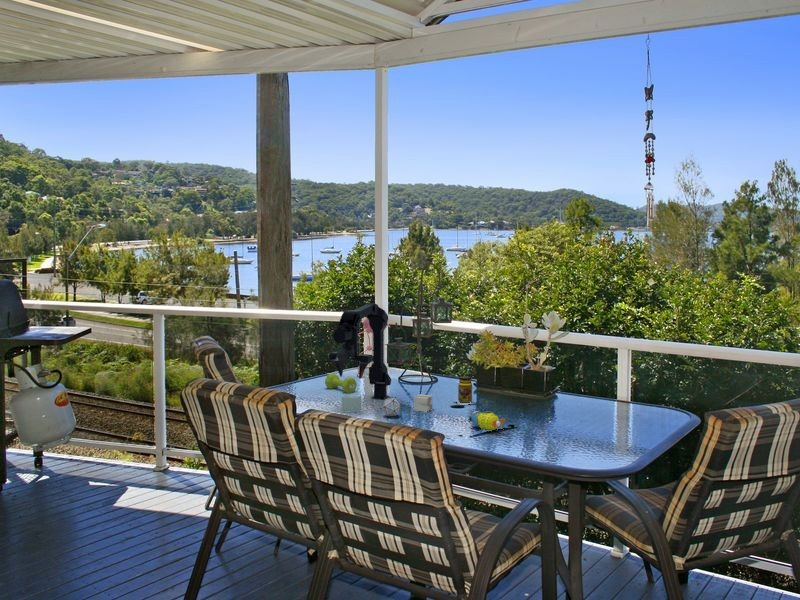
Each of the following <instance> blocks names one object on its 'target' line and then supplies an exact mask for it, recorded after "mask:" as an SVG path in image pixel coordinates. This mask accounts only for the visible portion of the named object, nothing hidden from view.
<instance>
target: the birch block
mask: <svg viewBox="0 0 800 600" xmlns="http://www.w3.org/2000/svg"><path fill="white" fill-rule="evenodd" d="M431 409H432V410H433V395H428V394H417V395H415V396H413V411H414V410H415V411H414V412H419V411H424V412H423V413H428V412H430V411H432V410H431ZM429 410H430V411H429ZM427 411H428V412H427Z"/></svg>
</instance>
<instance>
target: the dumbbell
mask: <svg viewBox="0 0 800 600" xmlns="http://www.w3.org/2000/svg"><path fill="white" fill-rule="evenodd" d="M325 377H326V378H325V381H324V384H325V386H326V388H327V389H328V388H329V390H334V389H333V388H335V389H337V388H338V387H341V389H342V390H343V392H344V393H345V394H352V393H354V392H355V391H356V388H357V386H358V384H357V381H356V379H355V378H354V377H352V376H351V377H350V376H347V377H345V378H344V379H343V380H342V379H340V376H339V375H338V374H337V373H329V374H327V375H326V376H325Z"/></svg>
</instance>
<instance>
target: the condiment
mask: <svg viewBox="0 0 800 600" xmlns="http://www.w3.org/2000/svg"><path fill="white" fill-rule="evenodd" d="M458 380H459V382H458V387H457V388H458V391H457V393H458V394H457V398H458V399H457V401H459V402H460V403H470V402H472V403H473V383H472V377H471V376H469V375H464V376H463V375H462V376H459V379H458Z"/></svg>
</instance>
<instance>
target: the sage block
mask: <svg viewBox="0 0 800 600" xmlns="http://www.w3.org/2000/svg"><path fill="white" fill-rule="evenodd" d="M342 410H343V411H342ZM361 410H362V395H358V394H352V393H348V394H346V395H344V396H341V411H342V412H348V413H356V412H358V411H361Z"/></svg>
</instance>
